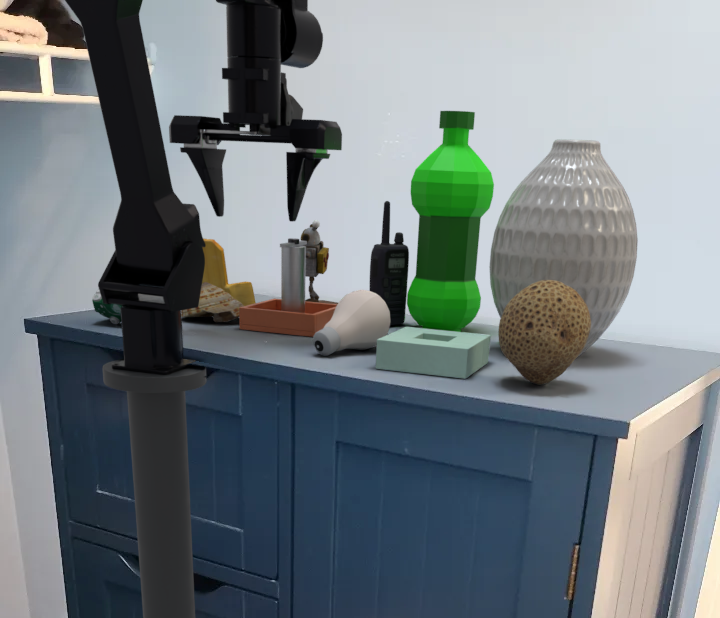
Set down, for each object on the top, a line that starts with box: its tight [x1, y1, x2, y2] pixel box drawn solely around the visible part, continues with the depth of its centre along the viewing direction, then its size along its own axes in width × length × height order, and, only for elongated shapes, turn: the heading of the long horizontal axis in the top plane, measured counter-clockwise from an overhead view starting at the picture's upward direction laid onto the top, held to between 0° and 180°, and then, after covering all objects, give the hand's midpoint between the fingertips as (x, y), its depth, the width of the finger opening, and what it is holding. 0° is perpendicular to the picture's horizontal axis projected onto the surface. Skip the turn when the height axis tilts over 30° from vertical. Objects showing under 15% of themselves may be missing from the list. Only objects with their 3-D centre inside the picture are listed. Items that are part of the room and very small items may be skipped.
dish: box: [238, 298, 337, 338], centre depth 121 cm, size 10×10×3 cm
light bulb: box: [312, 289, 391, 357], centre depth 107 cm, size 7×7×11 cm
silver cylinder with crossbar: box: [279, 237, 307, 313], centre depth 119 cm, size 3×6×10 cm, turn 159°
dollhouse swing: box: [202, 237, 257, 306], centre depth 134 cm, size 10×10×9 cm
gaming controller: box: [91, 288, 122, 325], centre depth 118 cm, size 9×4×6 cm
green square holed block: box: [375, 326, 492, 380], centre depth 102 cm, size 10×10×3 cm
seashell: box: [181, 282, 244, 323], centre depth 123 cm, size 8×6×8 cm
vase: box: [488, 138, 639, 357], centre depth 107 cm, size 16×16×22 cm
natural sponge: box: [497, 280, 591, 386], centre depth 93 cm, size 9×9×10 cm
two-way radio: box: [369, 200, 410, 326], centre depth 123 cm, size 6×4×15 cm
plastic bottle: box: [406, 110, 495, 332], centre depth 118 cm, size 10×11×25 cm
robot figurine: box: [300, 219, 339, 304], centre depth 131 cm, size 11×9×12 cm
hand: (255, 218), depth 108 cm, fingers open, 9 cm apart
